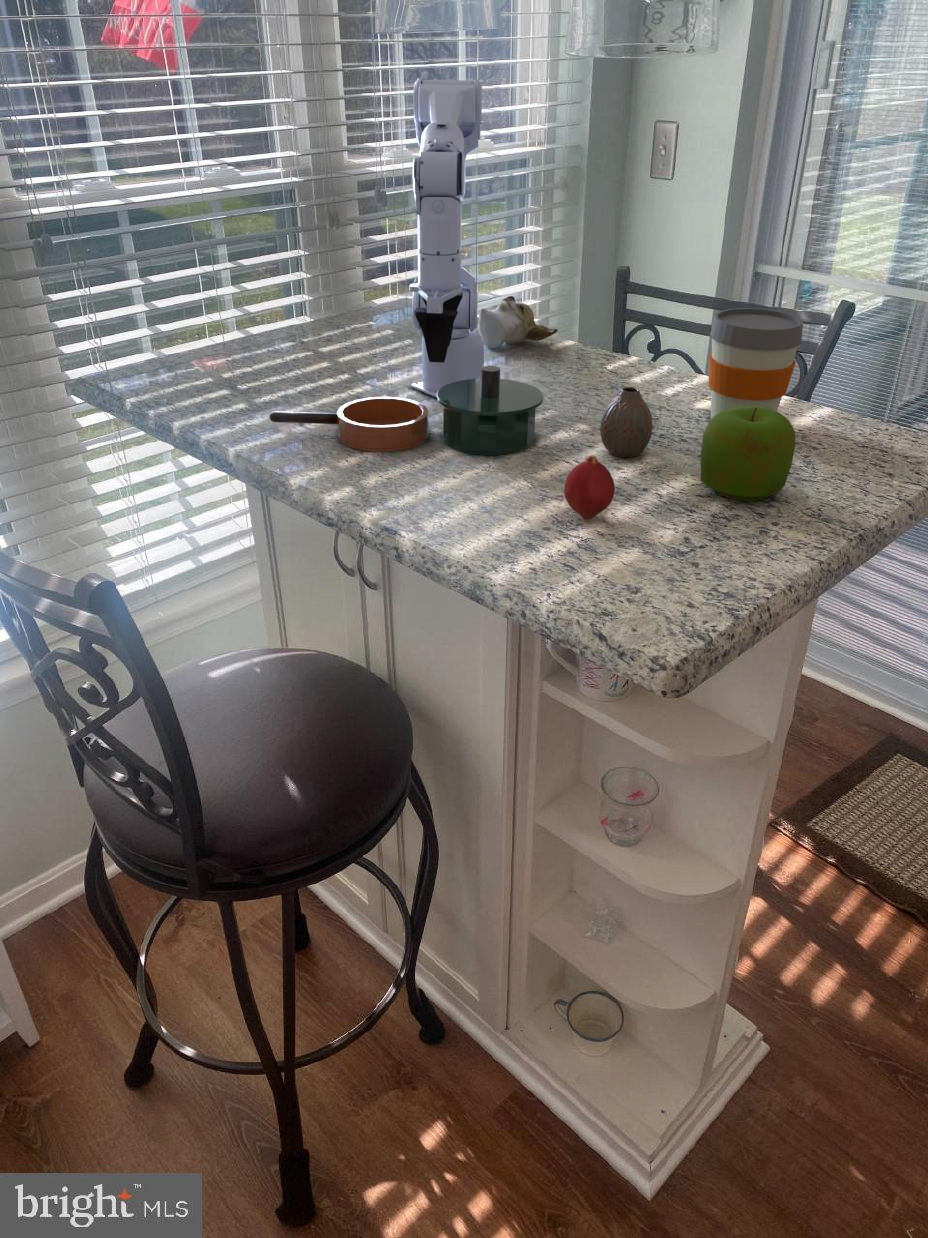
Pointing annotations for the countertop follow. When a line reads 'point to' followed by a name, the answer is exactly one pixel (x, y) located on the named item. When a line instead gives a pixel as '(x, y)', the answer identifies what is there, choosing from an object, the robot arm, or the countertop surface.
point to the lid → (490, 395)
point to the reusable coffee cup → (752, 357)
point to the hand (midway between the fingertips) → (439, 353)
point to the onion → (589, 488)
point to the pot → (488, 432)
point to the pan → (383, 424)
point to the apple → (747, 452)
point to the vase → (626, 424)
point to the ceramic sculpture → (510, 324)
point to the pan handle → (304, 417)
